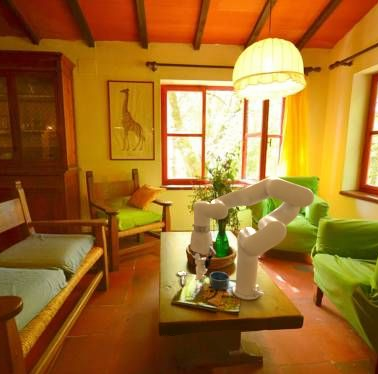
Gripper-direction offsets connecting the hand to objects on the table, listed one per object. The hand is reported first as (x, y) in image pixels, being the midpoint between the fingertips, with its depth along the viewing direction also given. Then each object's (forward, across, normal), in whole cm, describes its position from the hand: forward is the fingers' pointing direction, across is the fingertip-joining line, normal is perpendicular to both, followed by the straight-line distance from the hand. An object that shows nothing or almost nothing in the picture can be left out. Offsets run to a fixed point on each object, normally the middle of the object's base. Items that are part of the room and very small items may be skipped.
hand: (201, 264), depth 119 cm
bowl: (+14, +3, +10) cm, 17 cm away
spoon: (+13, -15, +3) cm, 20 cm away
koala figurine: (+7, 0, 0) cm, 7 cm away
